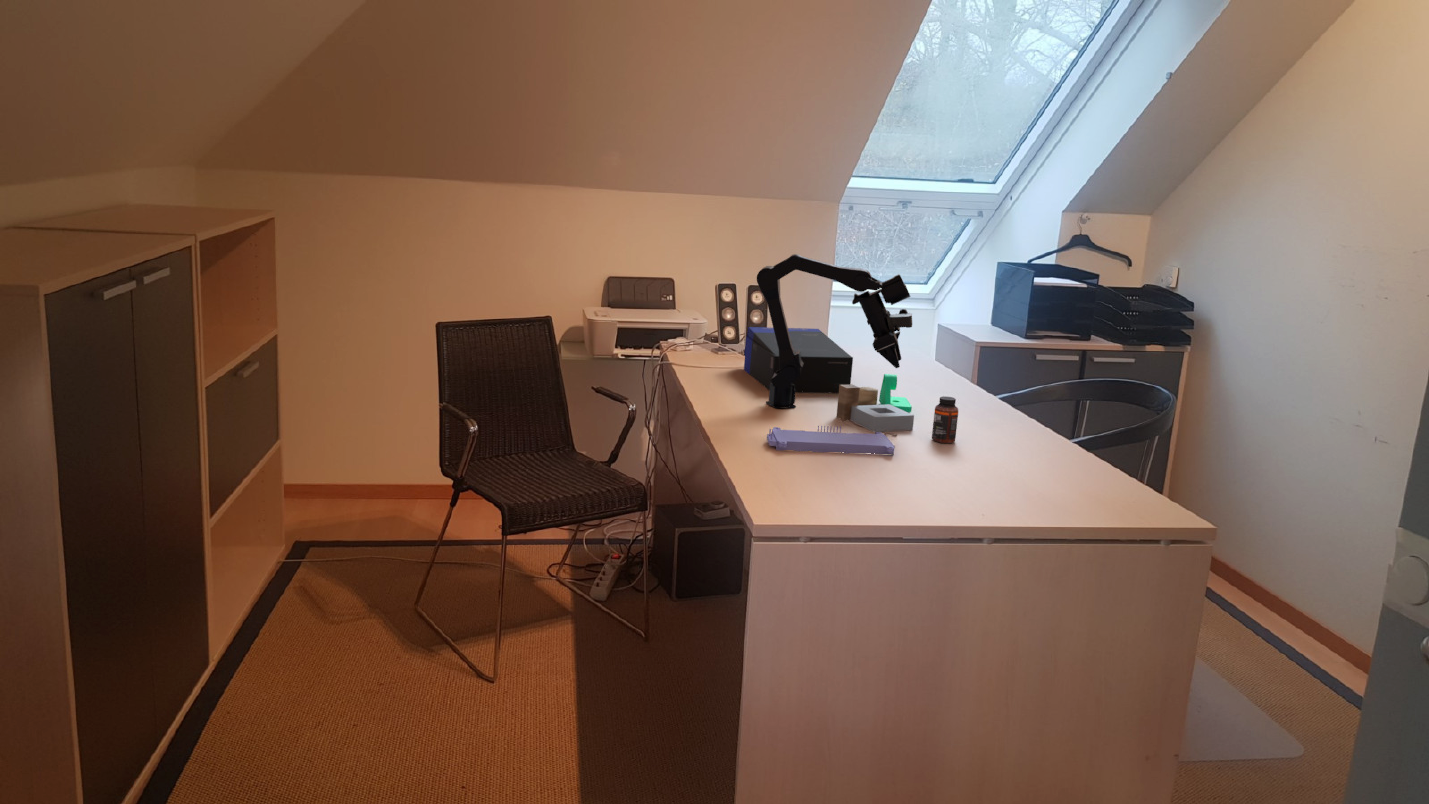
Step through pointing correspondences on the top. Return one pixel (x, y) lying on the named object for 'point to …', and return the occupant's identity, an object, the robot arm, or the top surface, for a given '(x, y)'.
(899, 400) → the green angle bracket
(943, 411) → the supplement bottle
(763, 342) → the headphone box
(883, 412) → the socket block
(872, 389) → the round dowel
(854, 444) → the computer part
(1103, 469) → the top surface
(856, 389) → the square peg
